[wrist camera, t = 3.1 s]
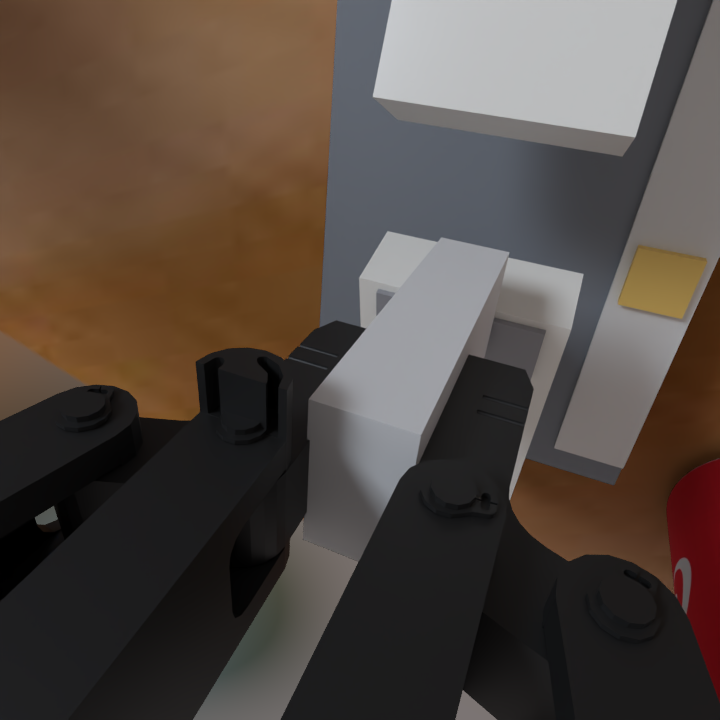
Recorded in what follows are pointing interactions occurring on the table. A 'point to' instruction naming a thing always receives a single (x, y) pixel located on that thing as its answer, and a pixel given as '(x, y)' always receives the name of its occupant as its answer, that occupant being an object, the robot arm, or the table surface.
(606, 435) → the switch unit
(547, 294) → the rocker
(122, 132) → the table surface
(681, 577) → the beverage can
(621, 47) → the block
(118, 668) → the robot arm
